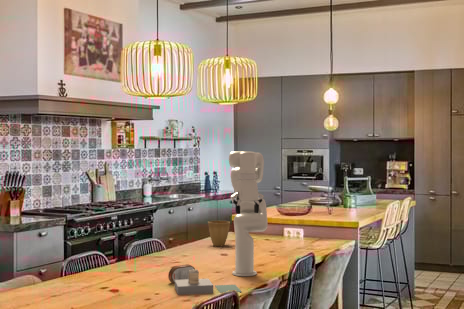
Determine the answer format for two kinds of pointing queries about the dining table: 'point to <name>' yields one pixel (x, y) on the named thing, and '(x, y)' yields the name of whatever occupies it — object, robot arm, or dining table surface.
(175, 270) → the tin
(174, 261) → the dining table surface
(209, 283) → the grey plate with hole
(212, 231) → the plant pot
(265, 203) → the robot arm
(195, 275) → the plug
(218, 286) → the mat
